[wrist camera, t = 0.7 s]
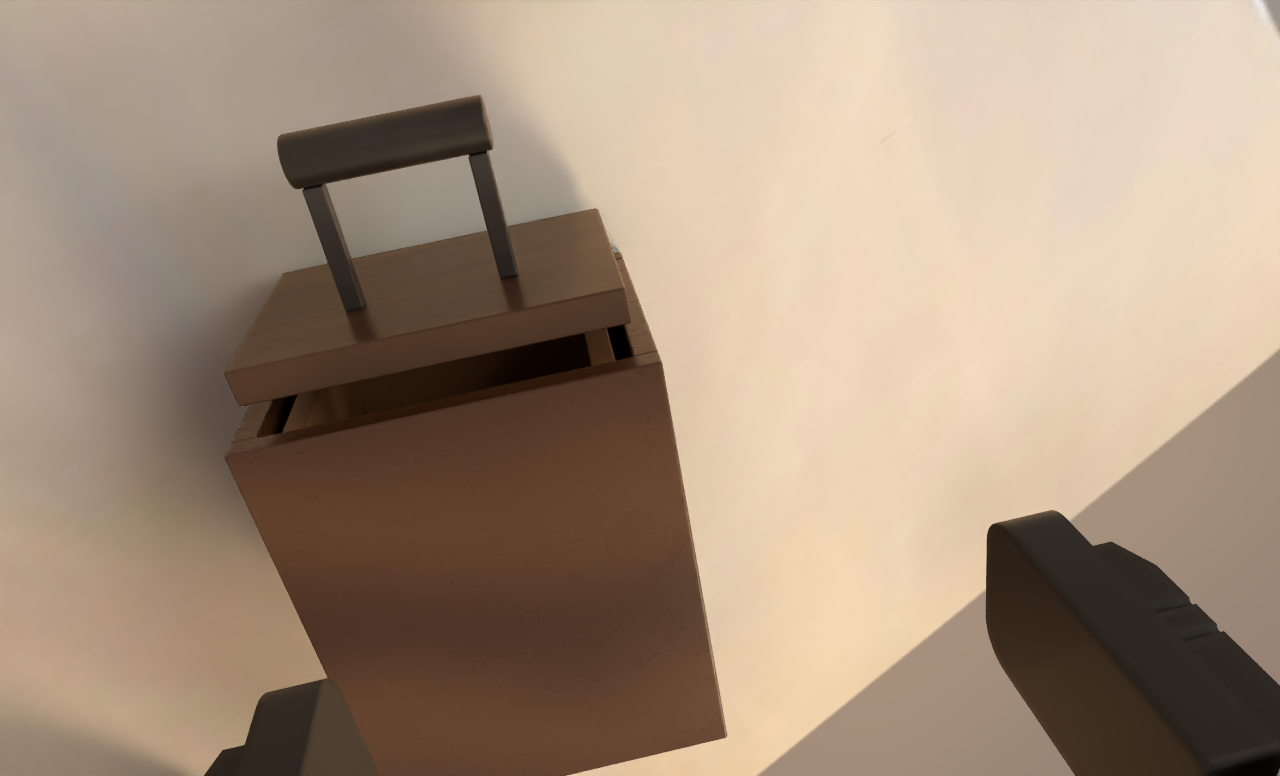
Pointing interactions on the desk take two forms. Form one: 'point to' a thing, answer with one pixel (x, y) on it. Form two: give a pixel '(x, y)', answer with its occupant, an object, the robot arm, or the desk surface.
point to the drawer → (424, 286)
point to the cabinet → (497, 568)
